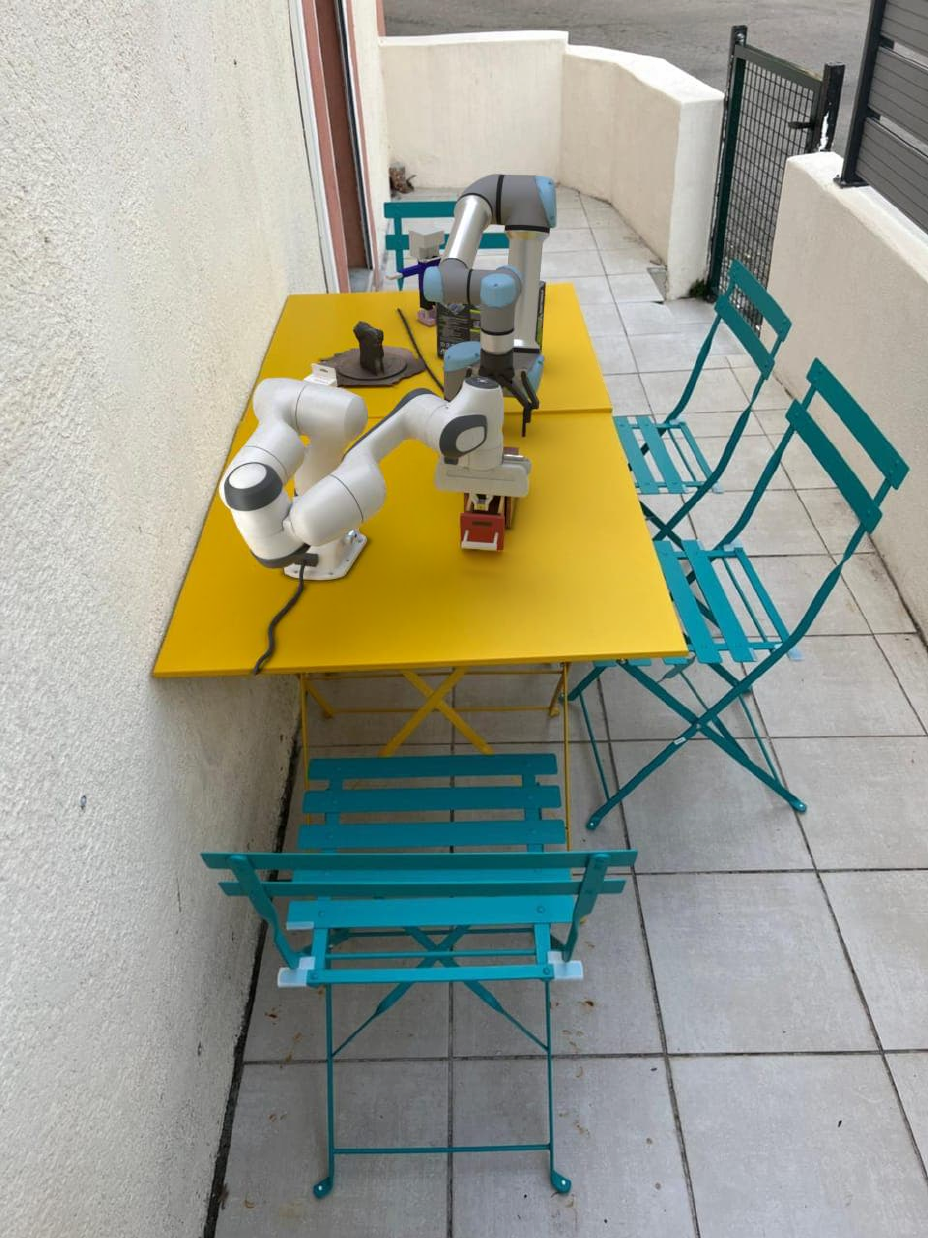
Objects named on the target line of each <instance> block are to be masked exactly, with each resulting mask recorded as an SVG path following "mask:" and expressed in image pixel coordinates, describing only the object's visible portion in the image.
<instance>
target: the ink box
mask: <svg viewBox="0 0 928 1238" xmlns="http://www.w3.org/2000/svg"><path fill="white" fill-rule="evenodd" d="M319 369H324V370H327V371H328V373H327V372H323V371H320V370H319ZM311 371H312V373H311V374H309V375H307V376H306V377H305V378H303V379H302V381H306V382H311V383H318V384H323V385H328V386H333V387H338V386H337V379H336V372H335V369H334V368H330V367H326V366H322V365H317V363H311Z"/></svg>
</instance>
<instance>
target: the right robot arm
mask: <svg viewBox="0 0 928 1238" xmlns="http://www.w3.org/2000/svg"><path fill="white" fill-rule="evenodd" d="M557 207H558V206H557V192H556V184H555V181H554V179H552V178H551V177H550V176H543V175H537V174H532V175H529V174H501V173H493V174H488V175H485V176H483V177H480V178H478V179H477V180H475V181H474V182H472V183H470V185H468V186H467V187H466V189H464V190H463V192H461V194H460V196H459V197H458V198H457V201H456V203H455V205H454V209H453V217H454V221H453V224H452V227H451V230H450V231H449V232H450V233H449V236H448V238H447V241H446V244H445V246H444V250H443V252H442V254H441V255H442V258H441V261H440V264H439V267H437V266H435V267H429V268H427V269H426V270H425V273H424V280H423V290H424V296H425V298H426V299H427V300H428V301H434V302H440V303H461V304H475V305H481V329H480V342H476V341H470V342H463V343H459V344H456V345H454V346H452V347H450V348H449V349H448V350H447V351H446V352H445V354H444V358H443V365H442V370H443V385H442V383H441V382H440V381H439V380H438V378H437V377H436V376H435V374H434V373H433V372H432V370H431V369H430V367H429V366H428V364H427V362H426V361H424V360H425V359H424V357H423V355H422V354H421V351H420V350H419V348H418V346H417V343H416V342H415V339H414V337H413V334H412V332H411V329H410V327H409V325H408V322H407V320H406V318H405V316H404V314H403V312H402V311H401V309H400V308H397V311H398V313H399V315H400V317H401V319H402V322H403V323H404V326H405V327H406V330H407V332H408V335H409V337H410V340H411V342H412V344H413V347H414V349H415V351H416V353H417V355H418V358H419V359H422V360H423V362H424V364H425V369H426V370H427V372H428V373H429V374H430V376H431V378H433V380H434V381H435V382H436V384H437V385H438V387H440V389H441V391H442V392H443V399H444V400H446V401H447V402H449V403H450V402H451V401H452V400H453V399H454V398H455V397H456V396H457V395H458V393H459V392H460V390H461V389H462V385H463V382H464V380H465V379H466V378H468V377H472V376H481V377H487V378H489V379H491V380H493V381H495V382H497V383H498V384H499V385H500V386H501V389H502V393H503V398H509V399H516V400H517V402H518V403H519V404H520V405H521V406H522V408H523V409H522V418H521V419H522V420H521V421H522V423H521V438H526V433H527V424H531V421H532V412H533V410H534V411H535V410H536V411H537V410H539V409H540V400H539V398H538V396H537V395H538V392H539V388H540V385H541V381H542V377H543V371H544V367H545V359H546V357H545V355H544V354H543V353H542V354H539V353H540V347H539V345H538V344H537V343H536V341H535V333H536V321H537V308H538V296H539V284H540V281H541V270H542V269H541V268H542V259H543V247H544V242H545V241H546V240H547V239H548V238H549V237H550V234H551V229H555V228H556V227H557V218H558V211H557V210H558V209H557ZM490 225H493V226H496V225H497V226H504V229H503V233H504V235H505V236H506V237H507V239H508V241H509V242H508V255H507V257H508V258H507V264H504V265H500V266H498V267H497V268H496V269H481V268H480V269H478V268H473V267H474V264H475V260H476V257H477V253H478V251H479V247H480V244H481V241H482V238H483V235H484V232H485V231H486V230H487V229H488V228H489V226H490Z"/></svg>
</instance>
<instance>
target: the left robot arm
mask: <svg viewBox="0 0 928 1238" xmlns="http://www.w3.org/2000/svg"><path fill="white" fill-rule="evenodd" d="M252 409H253V413H254V415H255V417H256V419H257V420H258V422H259V423H258V425H257V427H256V429H255V430H254V432H253V433H252V434H251V436H250V437H249V439H248V440H247V441H246V442H245V444H244V445H243V446H242V447H241V448H240V450H239V451H238V452H237V453H236V454H235V456H234V457H233V459H232V460H231V462H230V464H229V465H228V467H226V470H225V471H224V474H223V476H222V477H221V480H220V482H219V485H218V493H219V497H220V500H221V501H222V503H223V504H224V505H225V507H226V508H228V509H229V510H230V512H231V515H232V518H233V522H234V524H235V526H236V528H237V531H238V532H239V533H240V534H241V536H242V539H243V540H244V542H245V543H246V545H247V546H248V548H249V551H250V553H251V555H252V556H253V558H254V559H255V560H256V561H257V562H258V563H259V565H261V566H263V567H264V568H266V569H272V570H275V569H276V570H277V569H278V570H279V569H284V574H285V575H287V576H289V577H292V578H295V579H298V580H299V581H298V582H299V585H298V588H297V591H296V593H295V594H294V595H293V597H292V598H291V599H290V600H289V601H288V602H287V603H286V605H285V606H284V607H282V609H281V610H279V611H278V612H277V613H276V615H275V616H274V617H273V618H272V619H271V621H270V623H269V625H268V627H267V637H268V648H267V651H266V652H265V653H264V654H263V655H261V656H260V657H259V658H258V660H257V661H256V663H255V664H254V668H253V672H252V675H253V676H257V675H258V673H259V669H260V666H261V665H262V663H263V662H264V661H265V660H267V658H268V657H269V656H270V655H271V654H272V652H273V650H274V647H275V643H274V642H275V641H274V635H273V629H274V626H275V625H276V623H277V622H278V621H279V619H280V618H281V617H282V616H283V615H284V614H286V613H287V611H288V610H289V609H290V608H291V607H292V605H293V604H294V603H295V602H296V601H297V600H298V599H299V597H300V595H301V593H302V592H303V588H304V584H305V583H304V582H305V581H304V580H310V581H330V580H337V579H340V578H343V577H345V576H346V575H347V573H348V572H349V571H350V569H351V567H352V566H353V564H354V563H355V561H356V559H357V558H358V557H359V556H360V553H361V552H362V551H363V549H364V548H365V546H366V544H367V542H368V539H367V536H366V535H365V534H363V533H361V532H360V527H361V526H362V525H364V524H365V523H367V522H368V521H370V520H372V519H373V517H375V516H376V515H377V514H378V513H380V511H381V510H382V509H383V507H384V505H385V502H386V498H387V485H386V481H385V478H384V474H383V472H382V470H381V468H380V463H381V462H382V461H383V460H384V459H385V458H386V457H387V456H388V455H389V454H391V453H392V452H393V451H394V450H395V449H396V448H397V447H399V446H400V445H401V444H402V443H403V442H405V441H417V442H419V443H420V444H423V445H425V446H426V447H428V448H430V450H432V451H434V452H435V453H437V454H438V461H437V463H436V466H435V470H434V477H433V486H434V488H435V489H436V490H437V491H441V492H452V493H463V494H464V493H469V497H470V499H471V500H472V501H473V503H474V509H475V510H486V511H488V507H489V503H490V501H491V500H492V499H493V495H498V496H510V497H515V498H525V497H526V496H527V495H528V494H529V492H530V473H531V472H532V461H531V460H530V459H529V458H527V457H525V455H523V454H519V455H512V454H503V446H504V435H503V425H504V422H505V400H504V397H503V393H502V389H501V386H500V385H499V384H498V383H497V382H495V381H493V380H491V379H489V378H487V377H481V376H472V377H468V378H466V379H465V380H464V382H463V385H462V389H461V390H460V392H459V393H458V395H457V396H456V397H455V398H454V399H453V400H452V401H451V402H450V403H449V402H447V401H446V400H444V398H442V397H441V396H439V395H438V394H437V393H435V392H434V391H432V390H431V389H429V388H426V387H417V388H415V389H412V390H410V391H409V392H407V393H406V394H405V395H404V396H403V397H402V398H401V399H400V400H399V402H398V403H397V404H396V406H395V407H394V408H393V409H392V410H391V411H390V412H389V413H388V414H387V415H386V416H384V417H382V419H381V420H380V421H379V422H377V423H376V424H375V425H374V426H373V427H371V428H370V429H369V430H368V431H367V432H366V433H364V432H365V430H366V428H367V426H368V422H369V410H368V406H367V404H366V402H365V399H364V398H363V397H362V396H360V395H359V394H356V393H354V392H353V391H350V390H348V389H345V388H342V387H339V386H337V387H333V386H328V385H323V384H318V383H311V382H306V381H303V380H299V379H296V378H290V377H271V378H269V377H268V378H265V379H263V380H261V382H260V383H258V384H257V386H256V387H255V389H254V392H253V395H252ZM303 436H304V437H306V438H307V439H308V441H309V443H308V444H306V445H304V442H303V440H302V438H301V437H303ZM353 442H354V443H353ZM351 443H353V444H351ZM349 445H351V446H350V447H349ZM348 447H349V448H348ZM347 448H348V449H347ZM292 479H293V483H294V489H293V496H292V497H291V498H290V496H289V494H288V492H287V490H286V488H285V487H286V486H287V485H288V484H289V483H290V481H291V480H292ZM476 494H486V498H487V499H486V500H481V499H478V497H477V496H476ZM291 499H292V500H291Z"/></svg>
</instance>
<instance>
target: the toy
mask: <svg viewBox="0 0 928 1238" xmlns="http://www.w3.org/2000/svg"><path fill="white" fill-rule="evenodd" d="M445 240H446V239H445V230H444V229H442V228H439V227H437V226H434V225H431V224H430V223H429V224H425V225H421V226H417V227H413V228H410V229H408V246H409V247H408V248H409V256H410V257H412V258H414V259H416V261H417V264H415V265H411V266H408V267H404V268H401V269H398V270H397V271H395V272H391V273H388V274H385V275H384V276H385V279H386V280H388V281H395V280H399V279H402V280H403V279H406V278H409V277H413V276H416V275H417V279H418V280H417V281H418V282H417V283H418V293H419V298H418V299H419V308H421V309H420V310H417V312H416V313H417V321H418V322H421V323H422V324H424V325H426V326H428V327H431V326H434V325H436V302H434V301H428V300H427V299H426V298H425V296H424V290H423V280H424V273H425V270H426V269H427V268H429V267H435V266H437V267H439V264H440V261H441V258H442V255H443V254H440V246H441V245H444V244H445ZM445 245H446V244H445Z"/></svg>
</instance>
